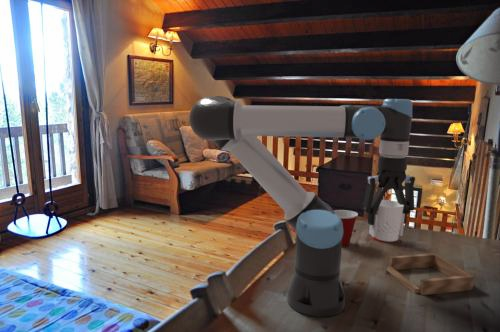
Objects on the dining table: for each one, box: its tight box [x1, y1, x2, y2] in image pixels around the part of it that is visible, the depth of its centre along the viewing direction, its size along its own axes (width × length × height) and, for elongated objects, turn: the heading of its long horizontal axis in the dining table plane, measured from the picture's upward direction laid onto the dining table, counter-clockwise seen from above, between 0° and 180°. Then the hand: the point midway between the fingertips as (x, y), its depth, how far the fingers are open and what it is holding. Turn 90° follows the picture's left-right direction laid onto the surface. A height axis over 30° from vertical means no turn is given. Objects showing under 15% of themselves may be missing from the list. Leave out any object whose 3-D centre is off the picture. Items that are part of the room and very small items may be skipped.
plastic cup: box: [333, 209, 359, 247], centre depth 138 cm, size 11×11×12 cm
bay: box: [386, 252, 475, 296], centre depth 113 cm, size 18×16×4 cm
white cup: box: [375, 199, 404, 242], centre depth 107 cm, size 8×8×10 cm
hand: (385, 234), depth 107 cm, fingers closed on white cup, 7 cm apart
